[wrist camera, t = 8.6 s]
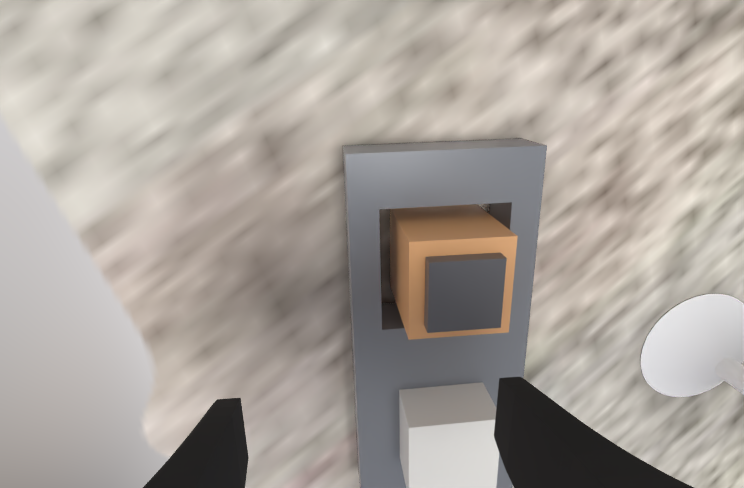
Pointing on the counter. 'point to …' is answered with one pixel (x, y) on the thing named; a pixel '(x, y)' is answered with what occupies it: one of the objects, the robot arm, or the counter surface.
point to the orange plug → (451, 271)
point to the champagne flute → (696, 347)
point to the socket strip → (444, 354)
